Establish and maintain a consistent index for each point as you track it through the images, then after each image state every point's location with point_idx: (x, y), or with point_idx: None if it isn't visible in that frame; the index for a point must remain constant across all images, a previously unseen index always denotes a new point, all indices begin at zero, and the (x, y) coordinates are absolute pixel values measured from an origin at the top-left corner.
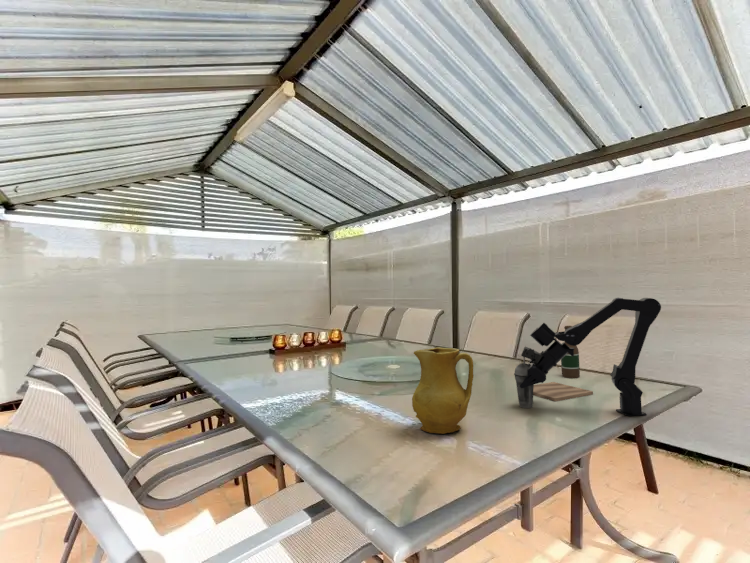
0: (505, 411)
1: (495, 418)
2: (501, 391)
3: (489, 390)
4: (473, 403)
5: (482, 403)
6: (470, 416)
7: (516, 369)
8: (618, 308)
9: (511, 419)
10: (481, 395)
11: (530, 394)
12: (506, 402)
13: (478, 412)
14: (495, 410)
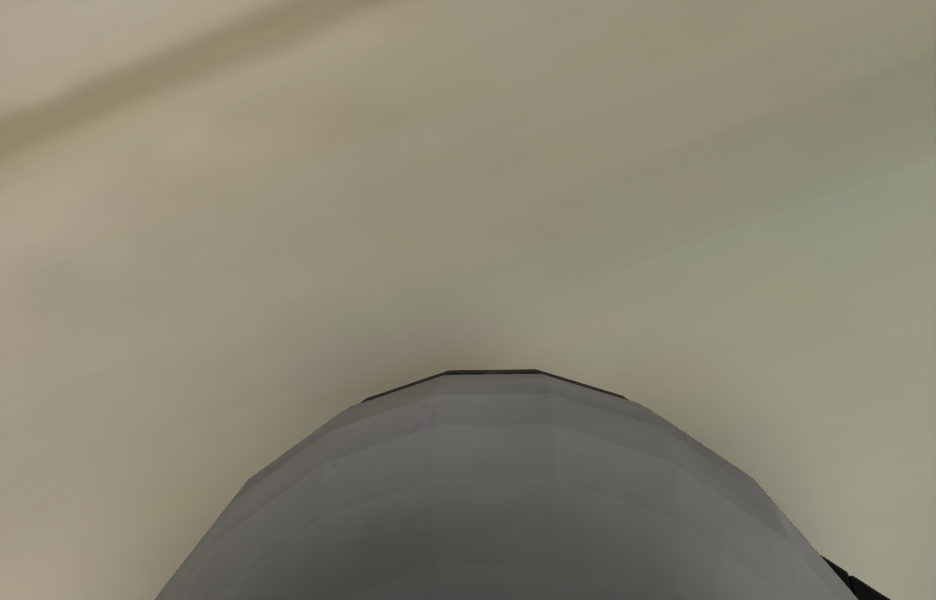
0: (238, 405)
1: (3, 404)
2: (897, 127)
3: (851, 34)
4: (367, 95)
5: (400, 149)
6: (9, 216)
7: (227, 514)
8: None
9: (6, 544)
10: (640, 48)
11: None
12: (538, 306)
13: (131, 223)
14: (236, 317)
